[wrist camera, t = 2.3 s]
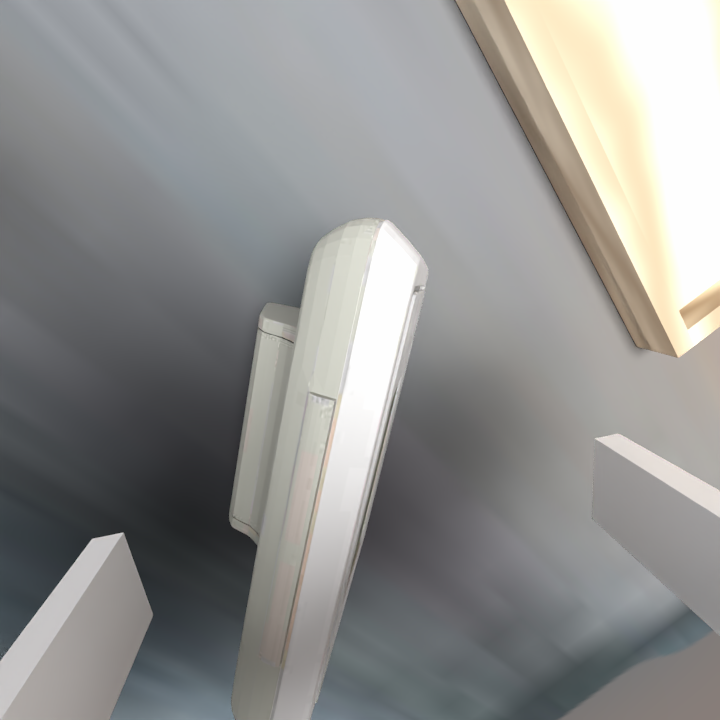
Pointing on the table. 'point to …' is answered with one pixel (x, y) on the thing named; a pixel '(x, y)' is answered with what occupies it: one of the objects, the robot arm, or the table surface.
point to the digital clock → (318, 454)
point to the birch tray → (624, 143)
